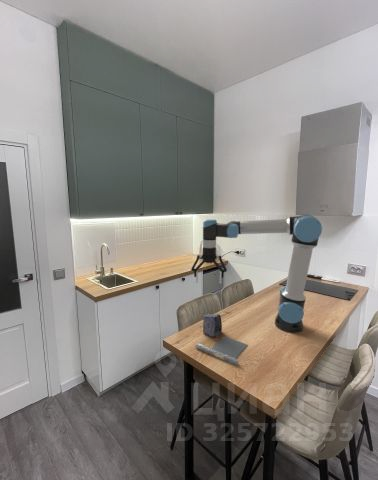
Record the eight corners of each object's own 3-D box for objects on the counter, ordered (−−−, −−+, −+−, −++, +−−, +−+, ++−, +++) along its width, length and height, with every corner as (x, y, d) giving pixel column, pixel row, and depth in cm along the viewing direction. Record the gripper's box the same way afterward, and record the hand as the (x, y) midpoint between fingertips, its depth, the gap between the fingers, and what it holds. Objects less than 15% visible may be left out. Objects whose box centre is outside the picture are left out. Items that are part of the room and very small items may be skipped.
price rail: (238, 363, 110) (238, 359, 110) (236, 366, 109) (237, 362, 108) (197, 346, 123) (197, 342, 122) (195, 348, 121) (195, 344, 121)
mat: (247, 345, 124) (247, 344, 124) (234, 360, 112) (234, 360, 112) (224, 336, 132) (224, 335, 132) (209, 350, 120) (209, 349, 120)
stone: (224, 336, 135) (216, 338, 127) (208, 334, 141) (199, 336, 132) (224, 313, 138) (216, 314, 129) (208, 312, 143) (199, 313, 135)
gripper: (231, 245, 142) (229, 281, 146) (187, 245, 144) (187, 279, 148) (232, 248, 135) (230, 285, 139) (186, 247, 137) (186, 284, 141)
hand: (208, 282), depth 143 cm, fingers open, 13 cm apart
